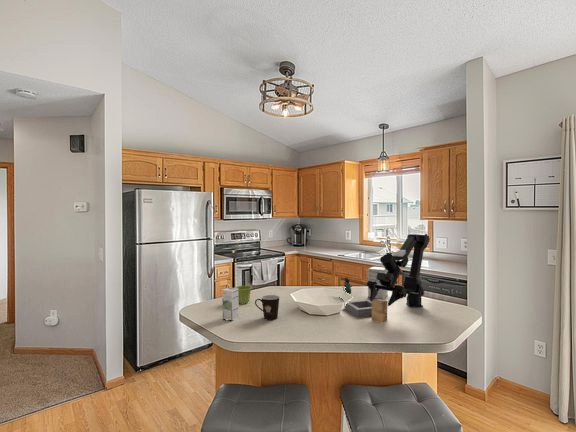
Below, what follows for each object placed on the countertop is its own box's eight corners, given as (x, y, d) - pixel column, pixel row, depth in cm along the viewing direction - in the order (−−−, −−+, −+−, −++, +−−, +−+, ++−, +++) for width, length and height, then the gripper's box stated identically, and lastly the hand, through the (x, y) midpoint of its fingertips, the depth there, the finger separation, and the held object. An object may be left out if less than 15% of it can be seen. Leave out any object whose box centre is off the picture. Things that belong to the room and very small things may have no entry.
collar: (368, 306, 172) (368, 299, 172) (383, 314, 159) (383, 306, 159) (344, 308, 168) (344, 302, 168) (357, 317, 155) (357, 309, 155)
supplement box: (383, 299, 186) (383, 269, 185) (367, 297, 191) (367, 268, 190) (388, 295, 194) (387, 267, 193) (373, 293, 199) (372, 266, 199)
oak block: (377, 317, 153) (377, 298, 153) (387, 320, 150) (387, 301, 150) (371, 320, 150) (371, 301, 150) (381, 322, 146) (381, 303, 146)
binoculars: (333, 278, 198) (349, 276, 198) (335, 295, 198) (351, 293, 198) (335, 281, 189) (352, 279, 189) (337, 299, 189) (354, 297, 189)
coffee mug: (283, 317, 155) (283, 296, 155) (270, 322, 149) (270, 300, 149) (266, 312, 163) (266, 293, 163) (253, 316, 157) (253, 296, 157)
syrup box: (239, 317, 156) (238, 287, 156) (232, 321, 150) (231, 290, 150) (229, 316, 158) (229, 286, 158) (222, 320, 153) (221, 289, 153)
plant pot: (238, 300, 187) (237, 285, 187) (253, 300, 186) (253, 285, 186) (233, 305, 178) (232, 289, 178) (249, 305, 176) (249, 289, 176)
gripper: (368, 263, 160) (355, 289, 153) (403, 268, 146) (390, 297, 139) (377, 277, 166) (365, 303, 158) (412, 283, 152) (400, 311, 144)
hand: (379, 303), depth 150 cm, fingers open, 9 cm apart
